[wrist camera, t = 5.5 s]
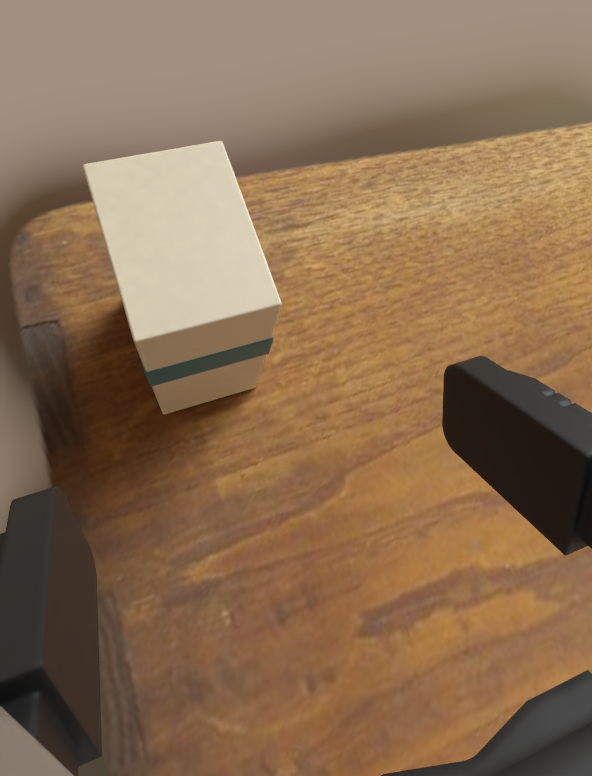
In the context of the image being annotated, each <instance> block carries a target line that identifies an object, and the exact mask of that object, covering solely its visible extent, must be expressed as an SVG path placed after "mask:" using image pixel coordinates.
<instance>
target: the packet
mask: <svg viewBox="0 0 592 776" xmlns="http://www.w3.org/2000/svg"><path fill="white" fill-rule="evenodd" d="M83 169H84V173H85V176H86V180H87V183H88V187H89V190H90V193H91V197H92V200H93V204H94V207H95V210H96V214H97V217H98V221H99V224H100V228H101V231H102V234H103V238H104V241H105V245H106V248H107V252H108V255H109V258H110V262H111V265H112V269H113V272H114V276H115V279H116V282H117V286H118V289H119V293H120V296H121V300H122V303H123V306H124V310H125V313H126V317H127V320H128V324H129V327H130V330H131V334H132V337H133V341H134V343H135V346H136V348H137V351H138V353H139V356H140V359H141V363H142V366H143V370H144V373H145V375H146V378H147V380H148V383H149V385H150V386H152V388H153V391H154V393H155V396H156V398H157V401H158V403H159V406H160V408H161V411H162V413H163V414H168V413H171V412H175V411H178V410H182V409H185V408H188V407H192V406H195V405H199V404H202V403H205V402H209V401H212V400H216V399H219V398H222V397H226V396H229V395H232V394H236V393H239V392H243V391H246V390H249V389H253V388H256V387H257V384H258V381H259V377H260V374H261V371H262V368H263V364H264V361H265V358H266V354H268V353H269V351H270V348H271V345H272V341H273V335H272V334H273V331H274V328H275V324H276V321H277V318H278V314H279V311H280V308H281V300H280V297H279V295H278V292H277V289H276V287H275V284H274V281H273V278H272V276H271V273H270V270H269V267H268V265H267V262H266V259H265V257H264V254H263V251H262V248H261V246H260V243H259V240H258V237H257V235H256V232H255V229H254V227H253V224H252V221H251V218H250V216H249V213H248V210H247V207H246V205H245V202H244V199H243V197H242V194H241V191H240V188H239V186H238V183H237V180H236V177H235V175H234V172H233V169H232V167H231V164H230V161H229V159H228V156H227V153H226V150H225V148H224V145H223V142H222V141H216V142H211V143H205V144H199V145H193V146H188V147H182V148H176V149H170V150H165V151H158V152H153V153H147V154H141V155H135V156H130V157H124V158H118V159H112V160H106V161H100V162H95V163H89V164H84V165H83Z"/></svg>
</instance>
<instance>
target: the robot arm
mask: <svg viewBox="0 0 592 776" xmlns="http://www.w3.org/2000/svg"><path fill="white" fill-rule="evenodd" d="M442 424H443V431H444V435H445V438H446V440H447V442H448V444H449V446H450V447H451V448H452V450H453V451H454V452H455V453H456V454H457V455H458V456H459V457H460V458H462V459H463V460H464V461H465V462H466V463H467V464H468V465H469V466H470V467H471V468H472V469H473V470H474V471H475V472H476V473H478V474H479V475H480V476H481V477H482V478H483V479H484V480H485V481H486V482H487V483H488V484H489V485H490V486H491V487H493V488H494V489H495V490H496V491H497V492H498V493H499V494H500V495H501V496H502V497H503V498H504V499H505V500H506V501H507V502H509V503H510V504H511V505H512V506H513V507H514V508H515V509H516V510H517V511H518V512H519V513H520V514H521V515H522V516H523V517H525V518H526V519H527V520H528V521H529V522H530V523H531V524H532V525H533V526H534V527H535V528H536V529H537V530H538V531H539V532H541V533H542V534H543V535H544V536H545V537H546V538H547V539H548V540H549V541H550V542H551V543H552V544H553V545H554V546H556V547H557V548H558V549H559V550H560V551H561V552H562V553H563V554H564V555H565V556H566V555H568V554H570V553H573V552H575V551H577V550H579V549H582V548H584V547H586V546H590V547H591V548H592V413H591V412H589V411H587V410H586V409H584V408H582V407H581V406H579V405H577V404H576V403H574V404H572V403H571V400H569V399H568V398H566V397H564V396H563V395H561V394H559V393H557V394H555V392H554V390H553V389H551V388H549V387H548V386H546V385H544V384H543V383H541V382H540V381H538V380H536V379H535V378H532V377H528V376H525V375H522V374H519V373H516V372H512V371H507V370H506V369H504V368H502V367H501V366H499V365H498V364H496V363H494V362H493V361H491V360H490V359H488V358H486V357H484V356H478V357H475V358H472V359H469V360H465V361H462V362H459V363H456V364H452V365H449V366H448V367H447V368H446V370H445V373H444V391H443V421H442ZM101 756H102V745H101V711H100V677H99V644H98V610H97V577H96V569H95V563H94V559H93V555H92V552H91V549H90V547H89V544H88V542H87V540H86V538H85V536H84V534H83V532H82V530H81V527H80V525H79V523H78V521H77V519H76V517H75V515H74V513H73V511H72V509H71V507H70V505H69V503H68V501H67V499H66V497H65V495H64V493H63V491H62V490H61V488H60V487H58V486H56V487H53V488H50V489H46V490H44V491H40V492H37V493H34V494H30V495H27V496H24V497H21V498H17V499H15V500H13V501H12V503H11V506H10V511H9V517H8V522H7V528H6V532H5V533H2V534H0V776H78V766H81V765H83V764H85V763H88V762H90V761H92V760H94V759H97V758H99V757H101ZM381 776H592V674H591V673H590V672H589V671H588V670H587V671H585V672H583V673H581V674H579V675H577V676H575V677H573V678H571V679H570V680H568V681H566V682H564V683H562V684H560V685H558V686H556V687H554V688H552V689H550V690H548V691H546V692H544V693H542V694H540V695H538V696H536V697H534V698H532V699H530V700H528V701H526V702H525V704H524V705H523V706H522V707H521V708H520V709H519V710H518V711H517V712H516V713H515V714H514V715H513V716H512V717H511V718H510V720H509V721H508V722H507V723H506V724H505V725H504V726H503V727H502V728H501V729H500V730H499V731H498V732H497V733H496V734H495V736H494V737H493V738H492V739H491V740H490V741H489V742H488V743H487V744H486V745H485V746H484V747H483V748H482V749H481V750H480V752H479V753H478V754H476V755H475V756H474V757H473V758H471V759H469V760H466V761H462V762H455V763H449V764H443V765H437V766H431V767H425V768H419V769H413V770H406V771H400V772H394V773H388V774H383V775H381Z"/></svg>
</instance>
